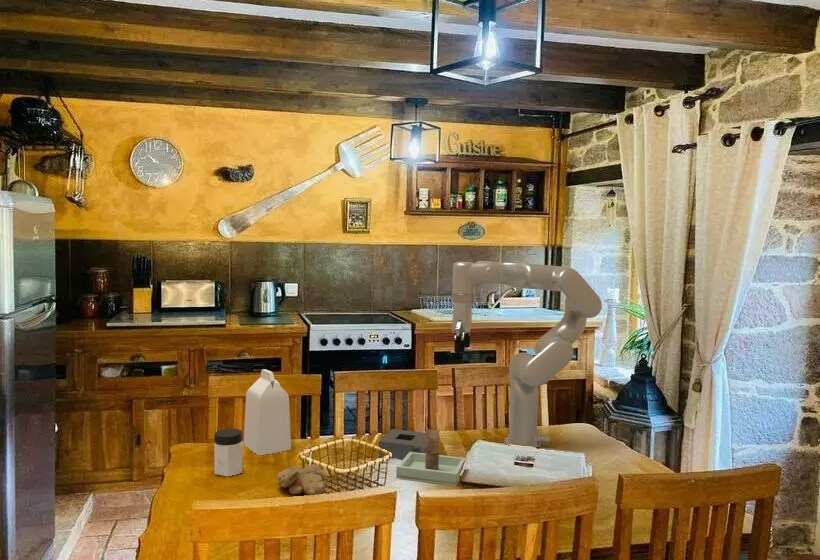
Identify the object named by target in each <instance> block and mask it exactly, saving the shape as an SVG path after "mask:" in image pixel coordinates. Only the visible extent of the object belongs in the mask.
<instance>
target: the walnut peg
mask: <svg viewBox="0 0 820 560" xmlns="http://www.w3.org/2000/svg"><path fill="white" fill-rule="evenodd" d="M425 433H426V457H425V469H431V470H439V455H440V430H438V429H434V428H432V429H426V430H425Z"/></svg>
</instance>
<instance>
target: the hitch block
mask: <svg viewBox="0 0 820 560" xmlns="http://www.w3.org/2000/svg"><path fill="white" fill-rule="evenodd" d="M379 447H380V448H382V449H385V450H387V451H389V452H391V453H392V457H391V458H390V459H394V458H396V459H397V460H403V459H404V458H405V457H406V455H407V454H408V453H409V452H417V453H425V454H426V431H425V432H424V431H422V432H421V431H414V430H404V429H395V428H391V429H390V430H389V431H388V432H387V433H386V434H385V435H384V436H383V437H382V438H381V439H380V440H378V448H379ZM378 454H379V455H380V457H379V458H383V457H382V456H384V453H382V452H380V451H379V450H378ZM396 459H395V460H396Z"/></svg>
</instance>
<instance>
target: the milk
mask: <svg viewBox="0 0 820 560" xmlns="http://www.w3.org/2000/svg"><path fill="white" fill-rule="evenodd" d="M244 409H245V410H244V411H245V413H244V431H243V446H244V445H245V446H246V447H248V448H249V449H250V450H252V451H253V452H254V453H256V454H257V455H265V454H270V453H271V454H270V455H273V454H272V453H275V454H278V453H277V452H280V453H283V452H282V451H285V452H287V451H286V450H289V449H291V450H292V440H291V438H292V436H291V418H290V417H291V414H290V413H291V412H290V396H289V393H288V392H287V391H286V390H285V389H284V388H283V387H282V386H281V383H280V382H279V381H278V380H276V379H275V375H274V372H272V370H271V371H270V370H268V369H266V368H265V369H261V372H260V377H259V378H257V380H256V381H255V382H254V383H253V384H252V385H251V386H250V387H249V388H248V389H247V391H246V393H245V408H244ZM289 451H290V450H289ZM254 453H253V454H254ZM265 456H266V455H265Z"/></svg>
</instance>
